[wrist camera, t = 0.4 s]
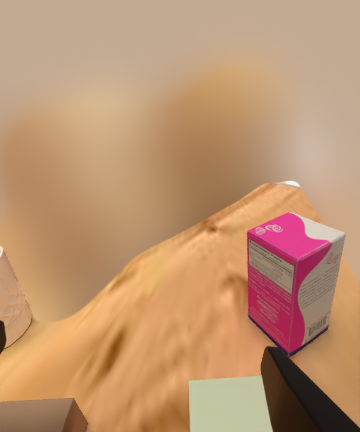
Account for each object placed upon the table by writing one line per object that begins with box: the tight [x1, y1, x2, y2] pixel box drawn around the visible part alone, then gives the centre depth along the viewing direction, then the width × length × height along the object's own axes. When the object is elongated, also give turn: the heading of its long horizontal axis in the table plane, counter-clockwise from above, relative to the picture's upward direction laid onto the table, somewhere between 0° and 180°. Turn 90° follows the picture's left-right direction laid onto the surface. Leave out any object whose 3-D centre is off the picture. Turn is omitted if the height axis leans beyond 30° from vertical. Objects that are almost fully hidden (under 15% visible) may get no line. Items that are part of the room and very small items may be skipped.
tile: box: [189, 376, 273, 432], centre depth 19 cm, size 7×7×1 cm
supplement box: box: [247, 212, 345, 357], centre depth 24 cm, size 6×6×12 cm
